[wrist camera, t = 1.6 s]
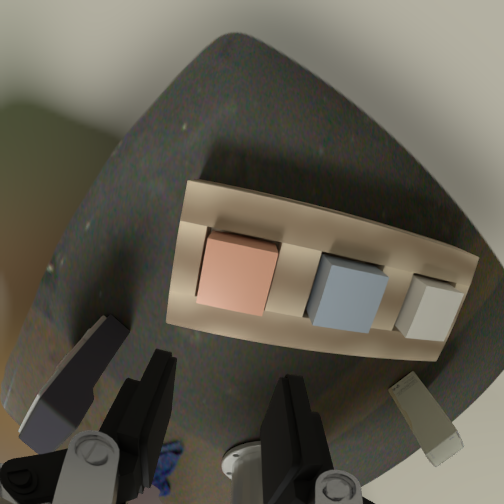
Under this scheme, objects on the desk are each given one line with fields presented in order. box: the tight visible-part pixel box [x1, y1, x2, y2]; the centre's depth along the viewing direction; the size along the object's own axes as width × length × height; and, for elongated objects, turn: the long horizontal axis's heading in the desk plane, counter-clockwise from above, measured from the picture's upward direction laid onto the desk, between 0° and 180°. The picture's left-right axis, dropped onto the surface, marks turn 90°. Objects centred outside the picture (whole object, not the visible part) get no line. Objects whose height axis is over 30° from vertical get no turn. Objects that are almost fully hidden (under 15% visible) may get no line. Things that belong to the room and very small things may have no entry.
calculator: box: [18, 315, 130, 454], centre depth 24 cm, size 11×4×15 cm, turn 136°
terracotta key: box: [196, 230, 278, 316], centre depth 23 cm, size 5×5×3 cm
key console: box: [166, 179, 479, 361], centre depth 26 cm, size 12×28×5 cm, turn 77°
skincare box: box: [388, 371, 464, 467], centre depth 27 cm, size 6×4×12 cm
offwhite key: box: [394, 275, 464, 342], centre depth 24 cm, size 5×5×3 cm
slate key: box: [306, 254, 389, 333], centre depth 23 cm, size 5×5×3 cm
